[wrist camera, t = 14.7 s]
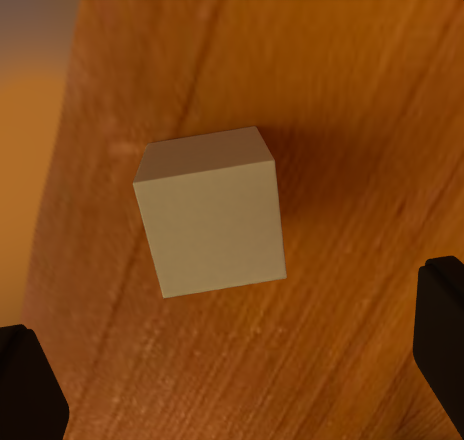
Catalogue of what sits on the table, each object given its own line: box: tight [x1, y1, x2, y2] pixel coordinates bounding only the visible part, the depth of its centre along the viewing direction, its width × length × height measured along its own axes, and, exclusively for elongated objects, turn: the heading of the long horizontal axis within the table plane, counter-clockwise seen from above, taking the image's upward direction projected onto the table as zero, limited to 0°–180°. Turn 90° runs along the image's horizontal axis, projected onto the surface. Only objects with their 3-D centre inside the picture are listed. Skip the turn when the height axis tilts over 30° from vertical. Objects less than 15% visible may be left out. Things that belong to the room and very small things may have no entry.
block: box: [133, 126, 287, 298], centre depth 18 cm, size 5×5×5 cm
